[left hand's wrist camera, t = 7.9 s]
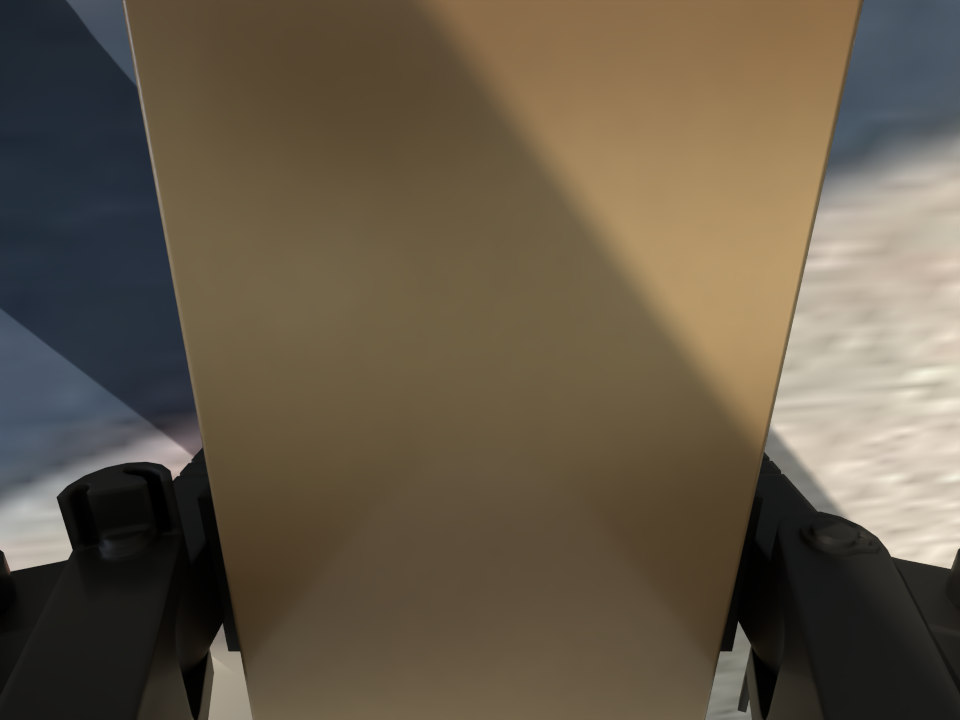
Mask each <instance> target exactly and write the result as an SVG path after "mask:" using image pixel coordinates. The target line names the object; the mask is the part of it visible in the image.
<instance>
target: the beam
mask: <svg viewBox="0 0 960 720" xmlns="http://www.w3.org/2000/svg"><path fill="white" fill-rule="evenodd" d="M863 1H864V0H122V5H123V11H124V16H125V22H126V27H127V33H128V38H129V44H130V49H131V55H132V60H133V66H134V71H135V77H136V82H137V88H138V93H139V99H140V104H141V109H142V115H143V120H144V126H145V131H146V137H147V142H148V148H149V153H150V159H151V164H152V170H153V175H154V181H155V186H156V192H157V197H158V203H159V208H160V214H161V219H162V225H163V230H164V236H165V241H166V247H167V252H168V258H169V263H170V269H171V274H172V280H173V285H174V291H175V296H176V301H177V307H178V312H179V318H180V323H181V329H182V334H183V340H184V345H185V351H186V356H187V362H188V367H189V373H190V378H191V384H192V389H193V395H194V400H195V406H196V411H197V417H198V422H199V428H200V433H201V439H202V444H203V450H204V455H205V461H206V466H207V472H208V477H209V482H210V488H211V493H212V499H213V504H214V510H215V515H216V521H217V526H218V532H219V537H220V543H221V548H222V554H223V559H224V565H225V570H226V576H227V581H228V587H229V592H230V598H231V603H232V609H233V614H234V620H235V625H236V631H237V636H238V642H239V647H240V653H241V658H242V664H243V669H244V674H245V680H246V685H247V691H248V696H249V702H250V707H251V713H252V718H253V720H705V717H706V712H707V708H708V703H709V699H710V694H711V690H712V685H713V681H714V676H715V672H716V667H717V663H718V658H719V654H720V649H721V644H722V640H723V635H724V631H725V626H726V622H727V617H728V613H729V608H730V604H731V599H732V595H733V590H734V586H735V581H736V576H737V572H738V567H739V563H740V558H741V554H742V549H743V545H744V540H745V536H746V531H747V527H748V522H749V518H750V513H751V509H752V504H753V499H754V495H755V490H756V486H757V481H758V477H759V472H760V468H761V463H762V459H763V454H764V450H765V445H766V441H767V436H768V431H769V427H770V422H771V418H772V413H773V409H774V404H775V400H776V395H777V391H778V386H779V382H780V377H781V373H782V368H783V363H784V359H785V354H786V350H787V345H788V341H789V336H790V332H791V327H792V323H793V318H794V314H795V309H796V305H797V300H798V295H799V291H800V286H801V282H802V277H803V273H804V268H805V264H806V259H807V255H808V250H809V246H810V241H811V237H812V232H813V228H814V223H815V218H816V214H817V209H818V205H819V200H820V196H821V191H822V187H823V182H824V178H825V173H826V169H827V164H828V160H829V155H830V150H831V146H832V141H833V137H834V132H835V128H836V123H837V119H838V114H839V110H840V105H841V101H842V96H843V92H844V87H845V82H846V78H847V73H848V69H849V64H850V60H851V55H852V51H853V46H854V42H855V37H856V33H857V28H858V24H859V19H860V15H861V10H862V5H863Z"/></svg>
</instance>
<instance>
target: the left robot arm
mask: <svg viewBox="0 0 960 720" xmlns="http://www.w3.org/2000/svg"><path fill="white" fill-rule="evenodd" d="M57 500H58V503H59V507H60V510H61V513H62V516H63V520H64V523H65V526H66V530H67V533H68V536H69V539H70V543H71V546H72V549H73V551H72V553H71V555H70V557H69V559H68V560H65V561H61V562H56V563H51V564H46V565H41V566H36V567H31V568H26V569H21V570H16V571H11V572H10V569H9V566H8V564H7V561H6V558H5V555H4V552H2V551H1V550H0V720H208V716H209V708H210V700H211V692H212V684H213V676H214V670H213V663H212V658H211V653H210V649H209V648H210V646H211V644H212V642H213V640H214V638H215V636H216V634H217V632H218V631H219V629H220V627H221V625H222V623H223V627H224V632H225V637H226V642H227V646H228V651H240V647H239V642H238V636H237V631H236V625H235V620H234V614H233V609H232V603H231V598H230V592H229V587H228V581H227V576H226V570H225V565H224V559H223V554H222V548H221V543H220V537H219V532H218V526H217V521H216V515H215V510H214V504H213V499H212V493H211V488H210V482H209V477H208V472H207V466H206V461H205V455H204V450H203V448H202V449H201V450H200V451H199V452H198V453H197V454H196V455H195V457H194V458H193V459H192V462H191V463H188V464H187V466H186V467H185V468H184V469H183V470H182V471H181V472H180V476H177V477H176V478H175V479H174V480H172V476H171V471H170V470H169V469H167V468H166V467H164V466H163V465H162V464H156V463H150V462H135V463H125V464H120V465H115V466H111V467H106V468H104V469H101V470H98V471H96V472H93V473H90V474H88V475H85V476H83V477H82V478H80V479H78V480H77V481H75V482H73V483H72V484H70V485H68V486H67V487H66V488H65V489H64V490H63V491H62V492H61V493H60V494H59V495H58V496H57ZM738 621H739V623H740V625H741V627H742V629H743V630H744V632H745V634H746V636H747V638H748V640H749V642H750V644H751V648H750V653H749V658H748V662H747V667H746V671H745V676H744V680H743V685H742V689H741V694H740V699H739V705H738V710H739V711H742V712H746V710H747V706H748V701H749V699H750V707H751V715H752V720H960V549H958V551H957V554H956V557H955V560H954V563H953V565H952V568H951V569H947V568H942V567H937V566H932V565H927V564H922V563H917V562H912V561H907V560H902V559H898V558H894V557H891V556H890V554H889V552H888V550H887V549H886V547H885V546H884V545H883V544H882V542H881V541H880V540H879V539H878V537H876V536H875V535H873V534H872V533H871V532H869V531H868V530H866V529H865V528H863V527H862V526H860V525H858V524H856V523H854V522H851V521H849V520H847V519H845V518H842V517H839V516H835V515H831V514H828V513H824V512H817V511H816V509H815V508H814V507H813V506H812V505H811V504H810V503H809V502H808V500H807V499H806V498H805V497H804V496H803V495H802V494H801V493H800V492H799V490H798V489H797V488H796V487H795V486H794V485H793V484H792V483H791V481H790V480H789V479H788V478H787V477H786V476H785V475H784V474H781V470H780V469H779V468H778V467H777V466H776V465H775V464H774V462H773V461H770V460H769V457H768V456H767V455H766V454H765V452H764V454H763V459H762V463H761V468H760V472H759V477H758V481H757V486H756V490H755V495H754V499H753V504H752V509H751V513H750V518H749V522H748V527H747V531H746V536H745V540H744V545H743V549H742V554H741V558H740V563H739V567H738V572H737V576H736V581H735V586H734V590H733V595H732V599H731V604H730V608H729V613H728V617H727V622H726V626H725V631H724V635H723V640H722V644H721V649H720V651H732V649H733V644H734V639H735V634H736V629H737V624H738Z"/></svg>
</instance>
